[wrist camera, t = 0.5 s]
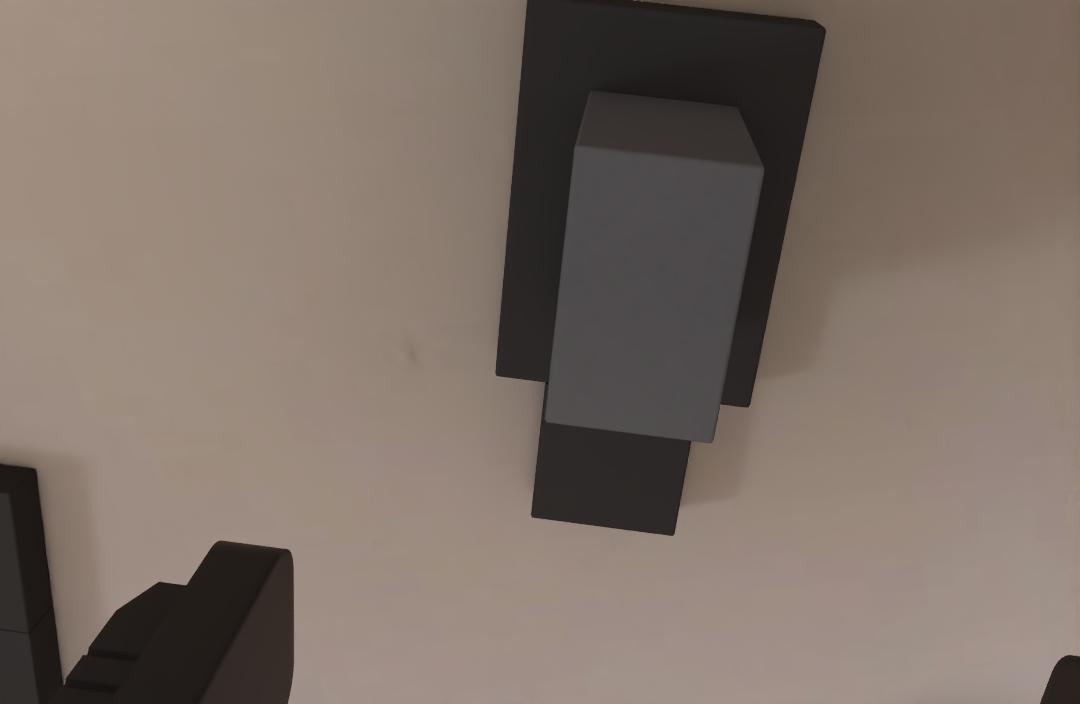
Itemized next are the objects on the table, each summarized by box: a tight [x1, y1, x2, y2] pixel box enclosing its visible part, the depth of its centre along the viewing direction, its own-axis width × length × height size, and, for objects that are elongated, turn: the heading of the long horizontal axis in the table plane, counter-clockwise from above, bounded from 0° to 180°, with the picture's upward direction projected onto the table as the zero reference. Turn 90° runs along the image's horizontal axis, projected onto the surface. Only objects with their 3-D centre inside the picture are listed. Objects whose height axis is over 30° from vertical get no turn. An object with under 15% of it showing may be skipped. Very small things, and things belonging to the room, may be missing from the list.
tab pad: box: [495, 0, 826, 536], centre depth 25 cm, size 14×7×8 cm, turn 175°
